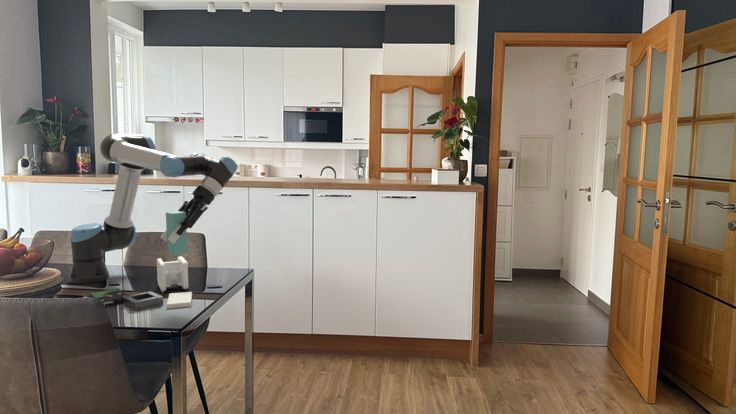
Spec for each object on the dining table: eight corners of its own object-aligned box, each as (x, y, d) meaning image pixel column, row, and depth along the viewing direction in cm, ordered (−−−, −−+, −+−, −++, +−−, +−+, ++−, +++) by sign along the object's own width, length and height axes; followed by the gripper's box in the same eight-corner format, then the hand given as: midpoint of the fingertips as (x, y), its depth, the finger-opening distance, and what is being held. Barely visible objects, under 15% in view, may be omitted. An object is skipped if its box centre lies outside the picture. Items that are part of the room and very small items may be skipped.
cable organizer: (157, 285, 214) (155, 257, 213) (184, 281, 219) (182, 254, 218) (161, 294, 201) (160, 264, 200) (190, 290, 206) (188, 261, 204)
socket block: (123, 305, 187) (122, 296, 187) (150, 299, 194) (150, 291, 194) (135, 311, 180) (134, 302, 180) (163, 304, 188) (162, 296, 187)
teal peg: (167, 253, 189) (165, 212, 187) (180, 251, 192) (178, 211, 191) (174, 255, 185) (172, 213, 184) (187, 253, 189) (185, 212, 187)
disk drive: (130, 303, 191) (118, 294, 202) (130, 296, 191) (117, 287, 202) (99, 309, 184) (88, 299, 195) (99, 301, 184) (88, 292, 195)
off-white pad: (169, 297, 197) (169, 293, 196) (192, 295, 199) (191, 291, 199) (167, 308, 183) (166, 304, 183) (191, 306, 186) (190, 302, 185)
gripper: (226, 199, 192) (186, 250, 182) (201, 196, 204) (162, 243, 194) (213, 185, 187) (171, 237, 177) (188, 183, 199) (147, 231, 189)
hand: (167, 240), depth 186 cm, fingers closed on teal peg, 5 cm apart
